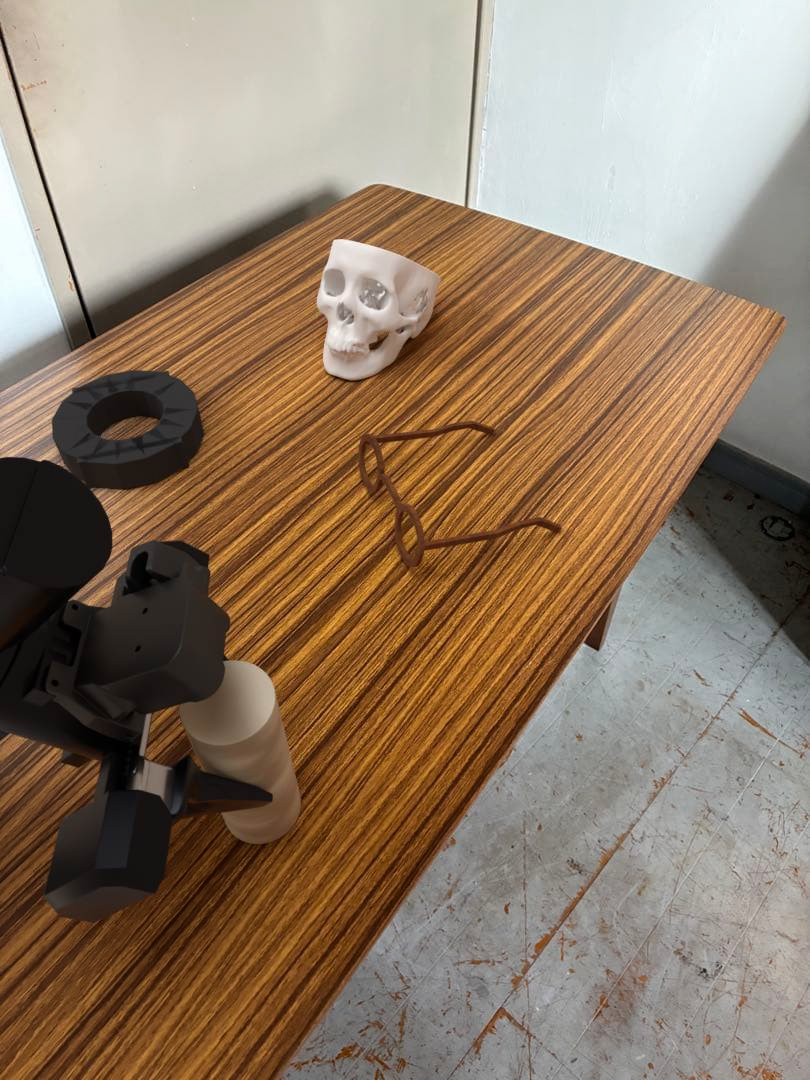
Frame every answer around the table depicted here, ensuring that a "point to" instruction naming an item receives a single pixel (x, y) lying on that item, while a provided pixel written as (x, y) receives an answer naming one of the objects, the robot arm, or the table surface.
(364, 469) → the glasses
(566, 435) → the table surface
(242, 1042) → the table surface
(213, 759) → the beige cylinder
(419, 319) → the skull bowl
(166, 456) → the black thick flat ring
